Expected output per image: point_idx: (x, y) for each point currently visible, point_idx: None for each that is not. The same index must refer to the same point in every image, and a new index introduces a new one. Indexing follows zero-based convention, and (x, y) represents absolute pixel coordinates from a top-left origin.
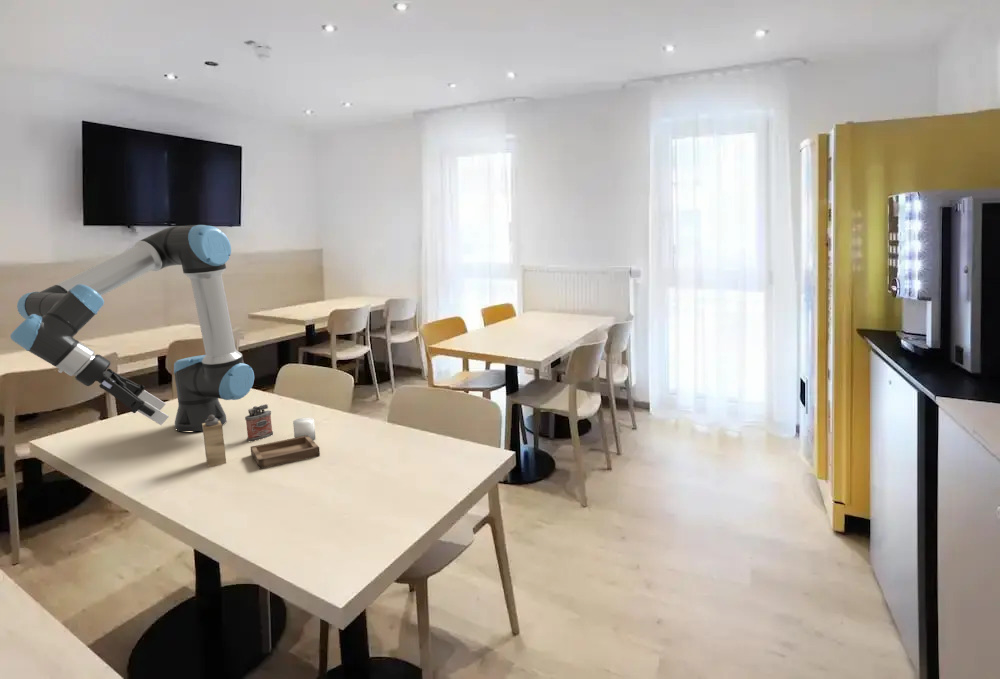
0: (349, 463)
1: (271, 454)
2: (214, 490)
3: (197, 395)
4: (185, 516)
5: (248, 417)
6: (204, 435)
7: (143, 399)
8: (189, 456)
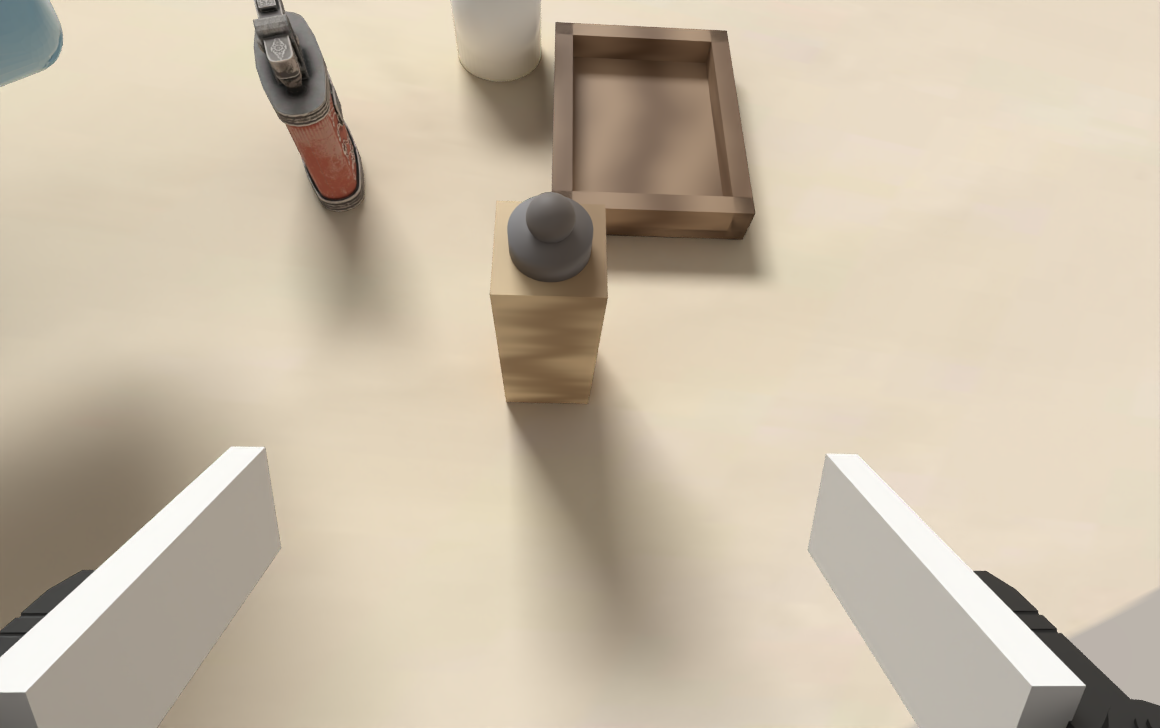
0: (839, 23)
1: (632, 170)
2: (899, 418)
3: None
4: (1139, 553)
5: (309, 103)
6: (573, 327)
7: (139, 708)
8: (360, 466)
